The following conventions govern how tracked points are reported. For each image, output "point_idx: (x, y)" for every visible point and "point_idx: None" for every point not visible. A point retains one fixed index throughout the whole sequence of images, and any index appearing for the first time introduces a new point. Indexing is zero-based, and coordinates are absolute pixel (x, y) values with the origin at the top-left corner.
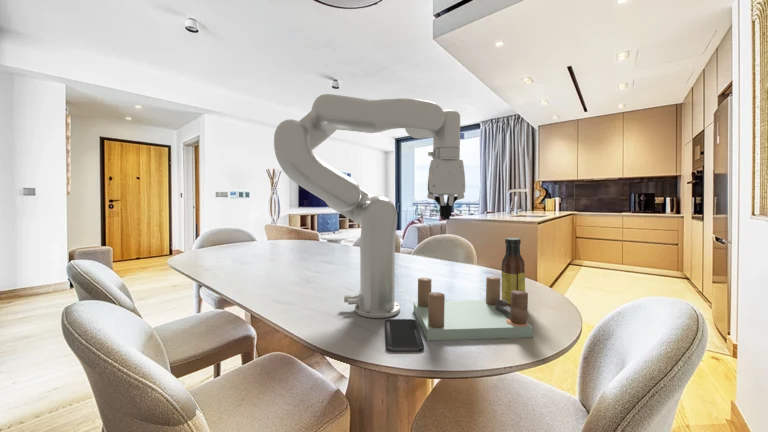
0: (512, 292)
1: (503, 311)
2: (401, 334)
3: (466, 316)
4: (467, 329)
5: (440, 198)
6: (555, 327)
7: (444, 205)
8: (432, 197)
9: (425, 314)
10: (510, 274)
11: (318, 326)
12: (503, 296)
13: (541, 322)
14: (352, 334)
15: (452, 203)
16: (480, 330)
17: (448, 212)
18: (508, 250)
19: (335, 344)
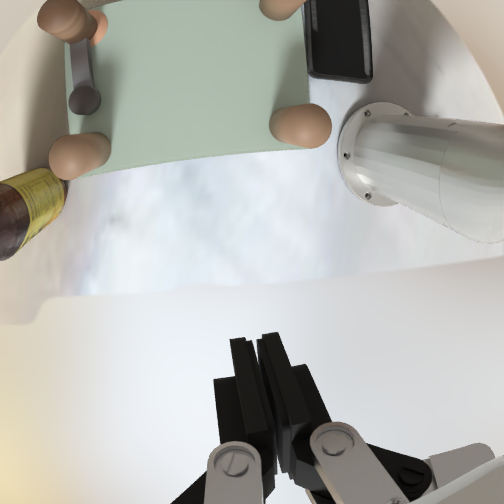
0: (70, 10)
1: (91, 72)
2: (342, 14)
3: (191, 47)
4: None
5: (386, 477)
6: (11, 81)
7: (301, 441)
8: (454, 465)
9: (293, 61)
10: (13, 187)
11: (464, 89)
12: (57, 190)
13: (22, 102)
14: (418, 45)
15: (214, 465)
16: None
17: (248, 376)
18: None
19: (433, 20)
